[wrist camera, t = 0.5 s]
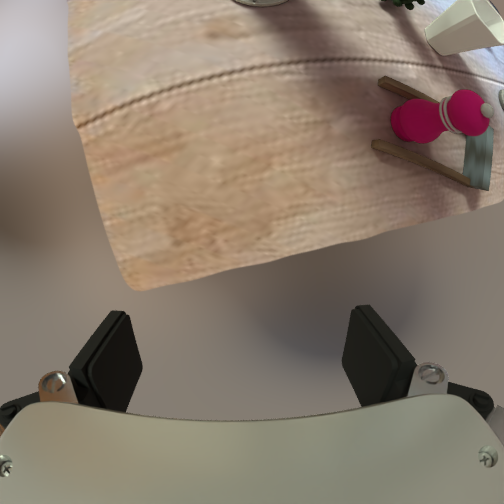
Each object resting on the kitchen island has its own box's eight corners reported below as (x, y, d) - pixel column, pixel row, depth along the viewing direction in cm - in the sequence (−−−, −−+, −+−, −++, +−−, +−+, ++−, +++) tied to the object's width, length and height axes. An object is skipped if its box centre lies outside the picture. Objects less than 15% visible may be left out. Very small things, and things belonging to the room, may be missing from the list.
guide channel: (378, 79, 34) (396, 69, 28) (473, 130, 36) (493, 129, 30) (371, 147, 37) (390, 145, 32) (468, 187, 39) (488, 190, 34)
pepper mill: (427, 133, 37) (513, 128, 17) (402, 152, 38) (491, 151, 18) (407, 97, 35) (489, 73, 16) (380, 114, 36) (464, 89, 17)
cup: (439, 20, 29) (487, -5, 12) (463, 60, 31) (516, 44, 15) (408, 22, 30) (458, -11, 13) (435, 66, 32) (494, 44, 16)
